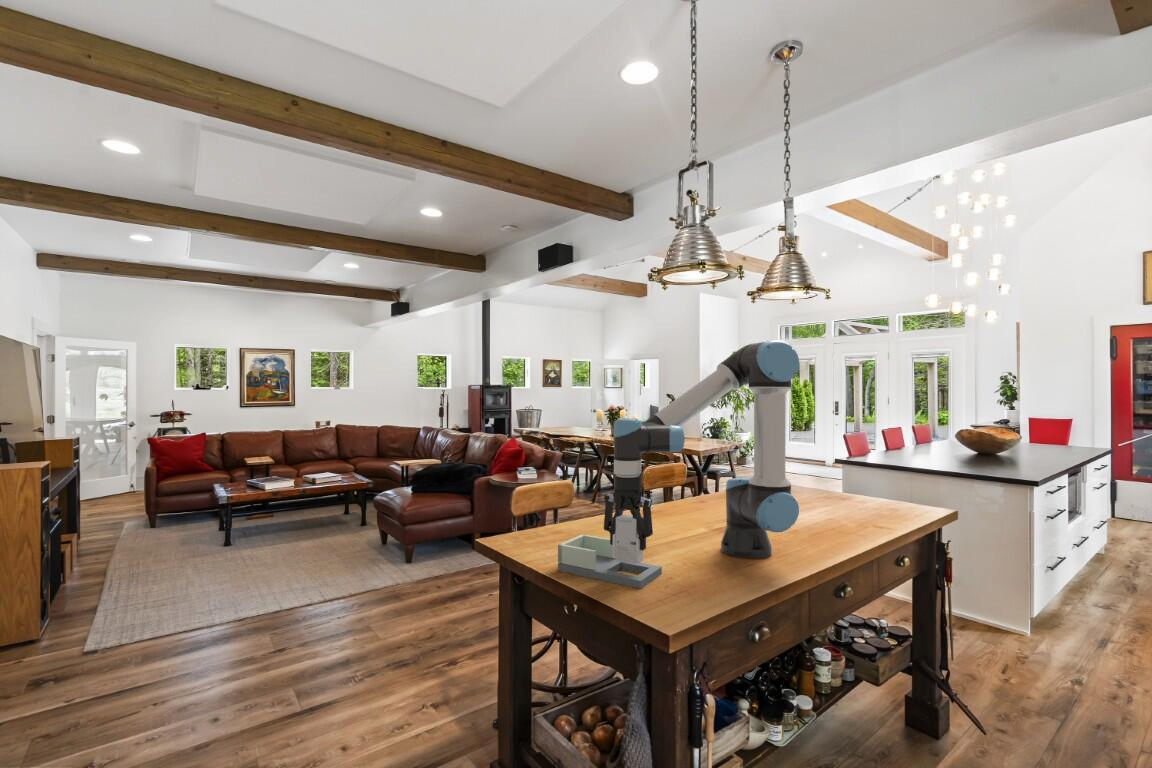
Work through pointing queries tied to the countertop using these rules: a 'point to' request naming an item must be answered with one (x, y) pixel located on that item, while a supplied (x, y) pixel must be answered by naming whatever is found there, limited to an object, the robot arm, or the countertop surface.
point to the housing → (584, 551)
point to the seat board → (609, 568)
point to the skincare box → (625, 539)
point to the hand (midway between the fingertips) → (627, 559)
